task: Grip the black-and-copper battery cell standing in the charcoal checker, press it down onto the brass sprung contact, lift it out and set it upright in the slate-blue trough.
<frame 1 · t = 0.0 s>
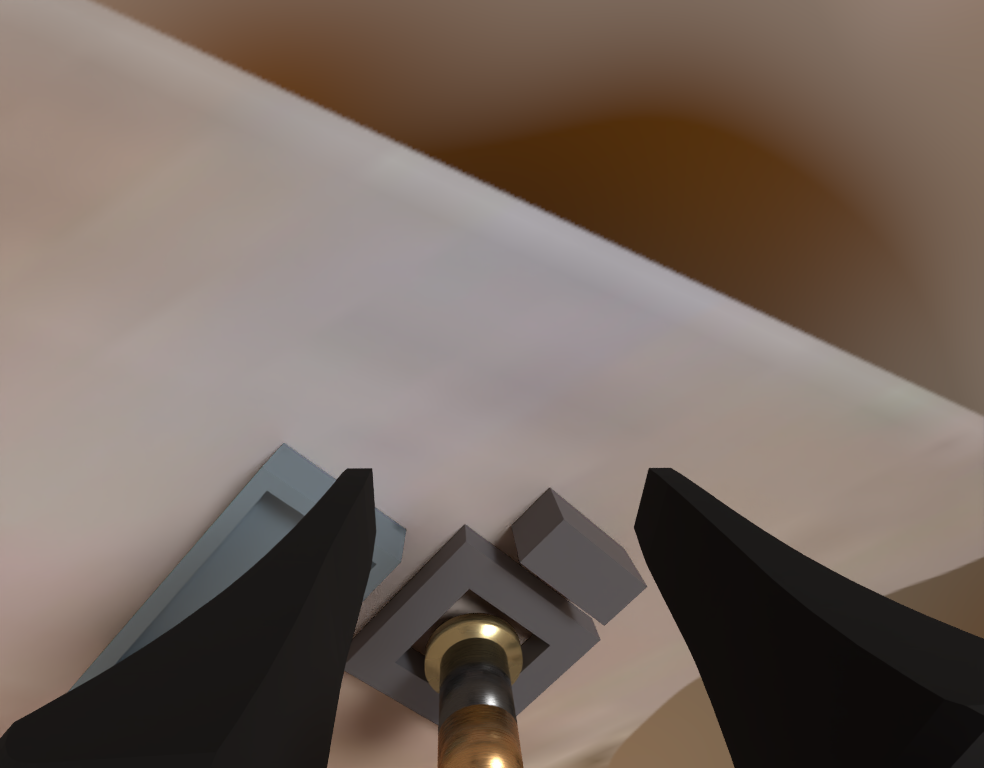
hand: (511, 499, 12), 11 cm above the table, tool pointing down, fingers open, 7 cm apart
slate trough: (255, 589, 24), on the table
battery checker: (472, 631, 26), on the table
battery cell: (474, 665, 23), point 2 cm above the table, touching sprung contact
sprung contact: (473, 658, 24), point 2 cm above the table, slide at -0.3 cm, touching battery cell
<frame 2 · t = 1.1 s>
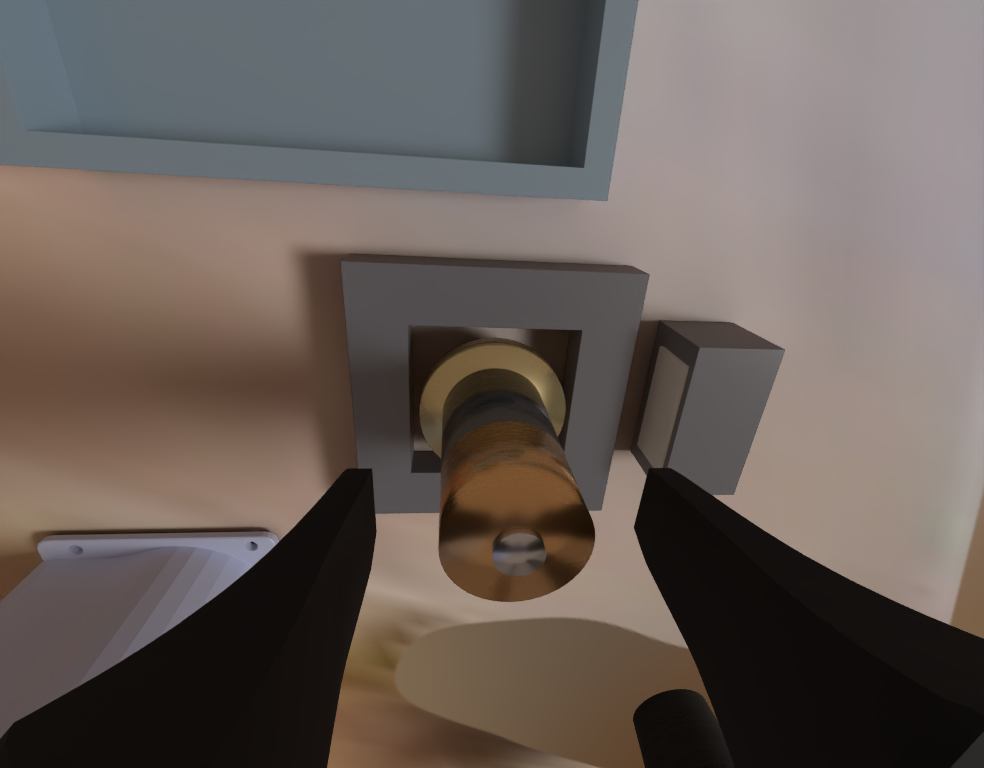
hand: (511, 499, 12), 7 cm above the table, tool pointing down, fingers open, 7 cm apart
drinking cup: (667, 708, 29), on the table
slate trough: (334, 36, 13), on the table
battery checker: (488, 388, 18), on the table
battery cell: (493, 414, 16), point 2 cm above the table, touching sprung contact
sprung contact: (492, 409, 16), point 2 cm above the table, slide at -0.3 cm, touching battery cell
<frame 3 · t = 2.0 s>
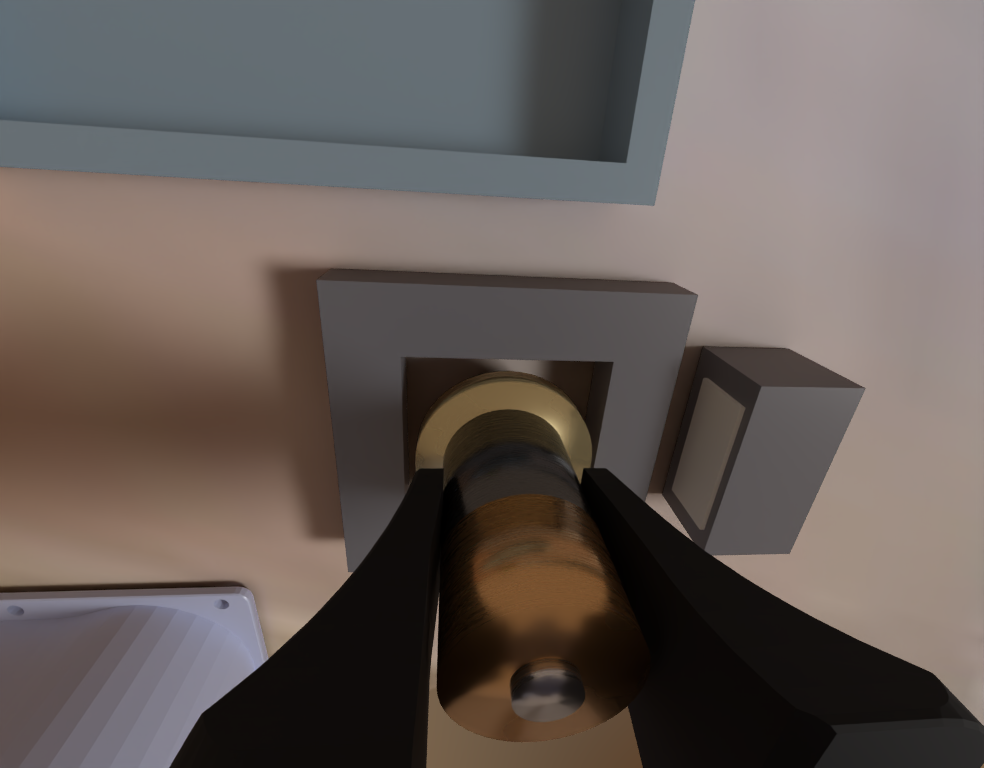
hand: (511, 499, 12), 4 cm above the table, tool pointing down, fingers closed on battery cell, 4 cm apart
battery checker: (497, 425, 15), on the table
battery cell: (504, 463, 13), point 2 cm above the table, touching gripper, sprung contact
sprung contact: (503, 455, 13), point 2 cm above the table, slide at -0.3 cm, touching battery cell
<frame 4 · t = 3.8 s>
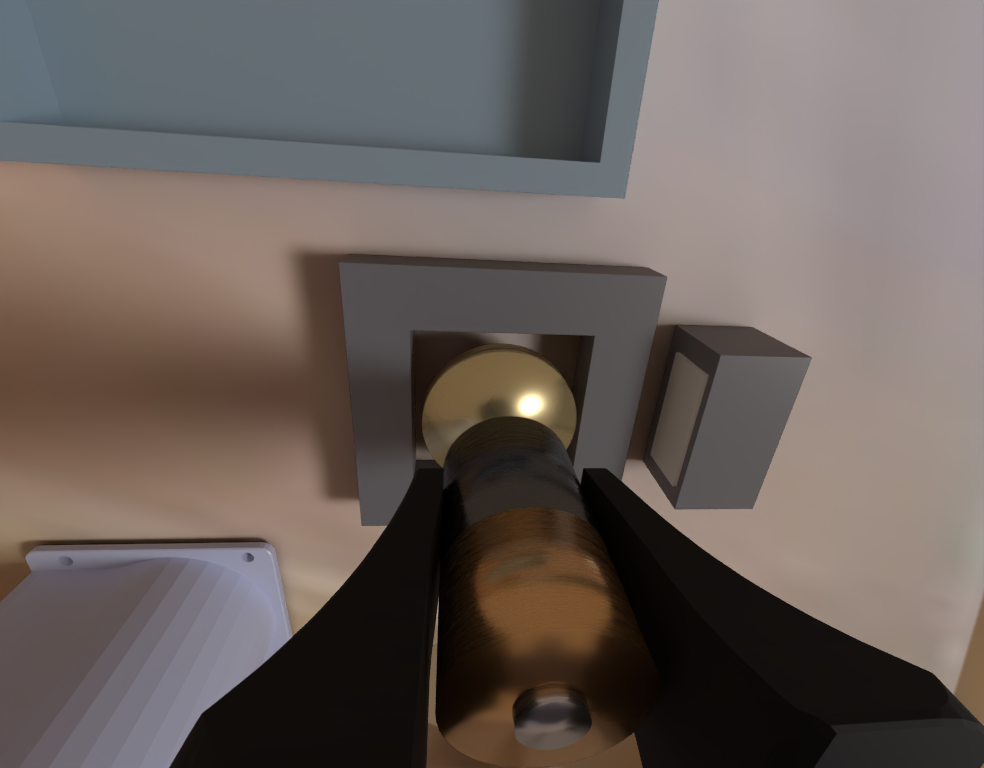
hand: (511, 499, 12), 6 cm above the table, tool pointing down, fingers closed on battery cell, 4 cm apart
slate trough: (331, 20, 12), on the table
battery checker: (494, 395, 17), on the table
battery cell: (506, 471, 13), point 5 cm above the table, touching gripper
sprung contact: (499, 418, 15), point 2 cm above the table, slide at -0.3 cm
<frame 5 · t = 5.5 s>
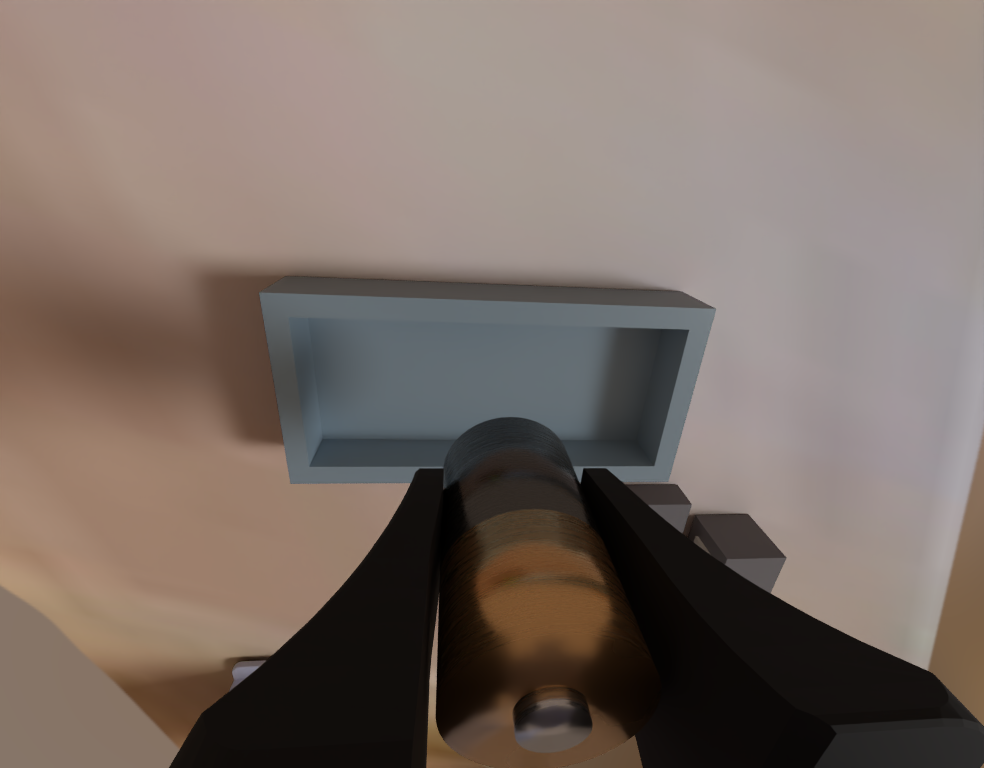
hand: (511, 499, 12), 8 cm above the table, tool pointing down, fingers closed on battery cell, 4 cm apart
slate trough: (487, 372, 19), on the table
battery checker: (568, 559, 24), on the table
battery cell: (506, 472, 13), point 7 cm above the table, touching gripper
when the fingers open (3 cm above the table, at t = 6.7 s): battery cell drops 2 cm, resting on slate trough.
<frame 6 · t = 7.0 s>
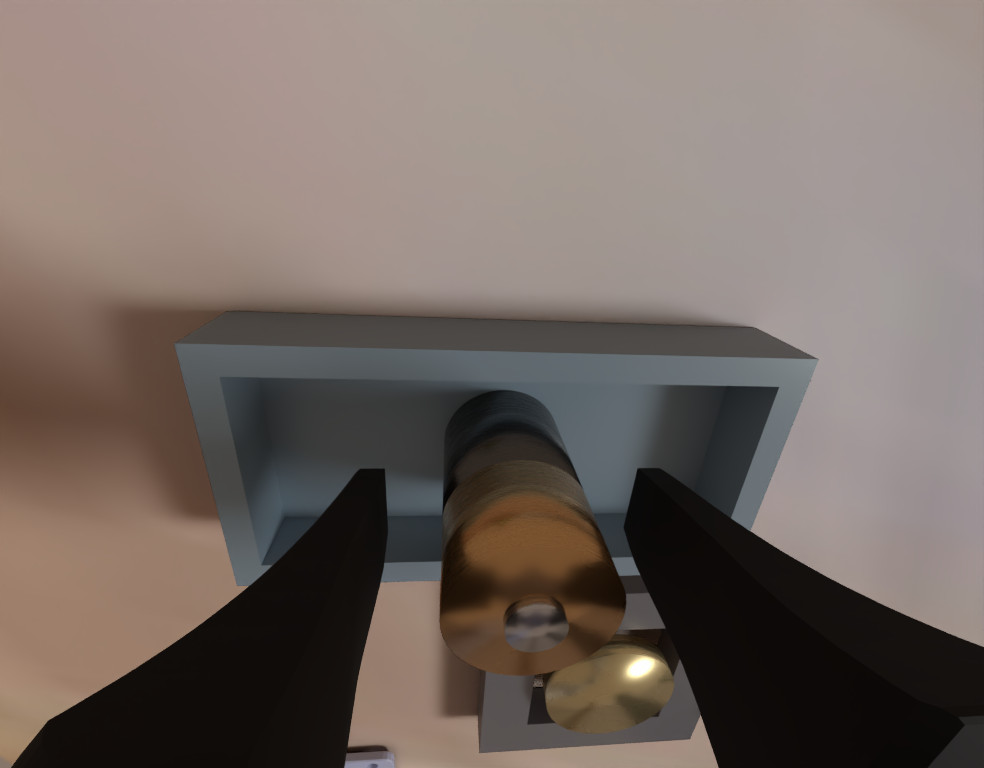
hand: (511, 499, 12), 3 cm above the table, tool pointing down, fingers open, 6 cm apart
slate trough: (499, 431, 15), on the table
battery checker: (594, 644, 20), on the table
battery cell: (501, 440, 14), point 1 cm above the table, touching slate trough
sprung contact: (607, 686, 18), point 2 cm above the table, slide at -0.3 cm
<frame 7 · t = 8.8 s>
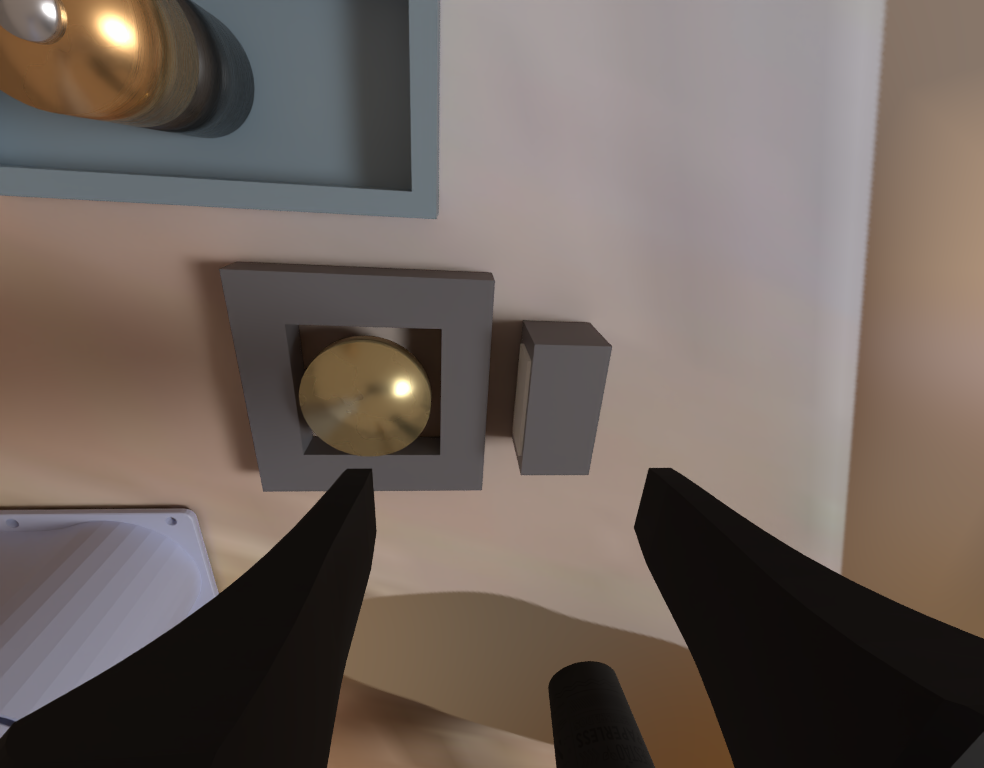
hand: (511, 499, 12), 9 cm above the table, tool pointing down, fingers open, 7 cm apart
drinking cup: (581, 679, 31), on the table
slate trough: (204, 78, 15), on the table
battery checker: (374, 380, 20), on the table
battery cell: (195, 74, 14), point 1 cm above the table, touching slate trough
sprung contact: (367, 398, 18), point 2 cm above the table, slide at -0.3 cm
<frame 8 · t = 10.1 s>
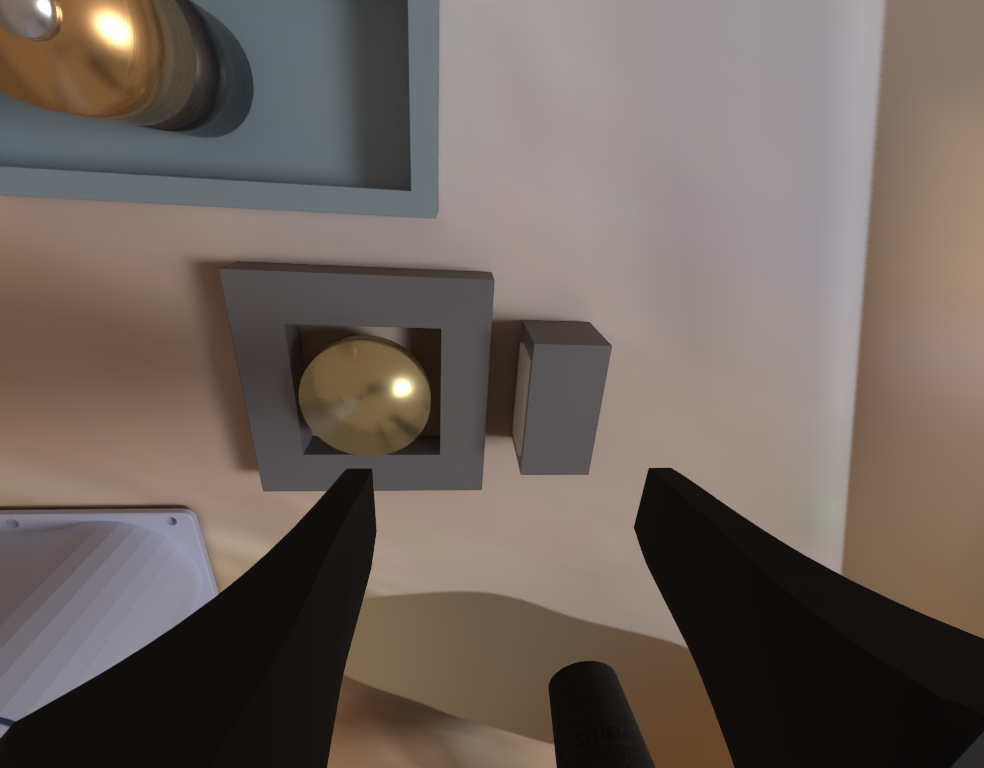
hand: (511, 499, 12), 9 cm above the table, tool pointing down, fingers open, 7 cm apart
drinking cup: (581, 679, 31), on the table
slate trough: (203, 78, 15), on the table
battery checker: (374, 379, 20), on the table
battery cell: (194, 74, 14), point 1 cm above the table, touching slate trough
sprung contact: (367, 398, 18), point 2 cm above the table, slide at -0.3 cm
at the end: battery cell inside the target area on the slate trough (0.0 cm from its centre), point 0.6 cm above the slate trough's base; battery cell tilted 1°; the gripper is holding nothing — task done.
